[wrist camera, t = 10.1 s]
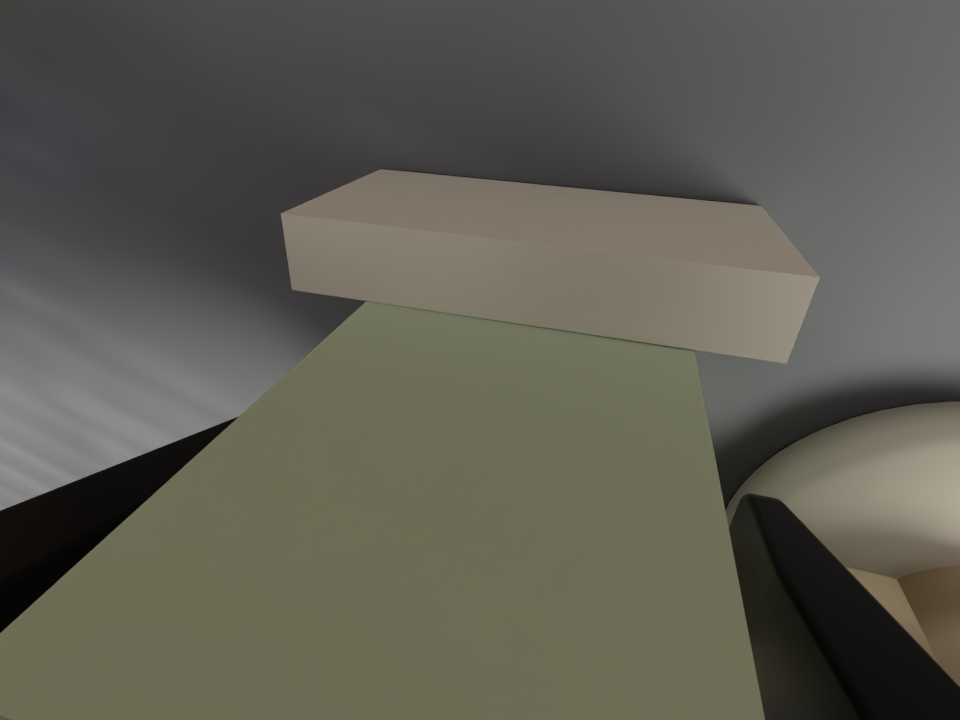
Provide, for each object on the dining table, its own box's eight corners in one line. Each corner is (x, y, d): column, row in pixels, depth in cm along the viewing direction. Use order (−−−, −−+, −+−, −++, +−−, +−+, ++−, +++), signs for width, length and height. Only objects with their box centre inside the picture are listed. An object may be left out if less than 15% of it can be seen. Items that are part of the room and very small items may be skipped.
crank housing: (1488, 276, 6) (2060, 425, 4) (1032, 711, 11) (1147, 903, 9) (380, 169, 9) (279, 213, 6) (400, 555, 14) (347, 667, 11)
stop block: (678, 262, 9) (819, 1016, 2) (631, 455, 11) (619, 1150, 4) (440, 233, 9) (-68, 693, 3) (439, 418, 11) (151, 943, 5)
